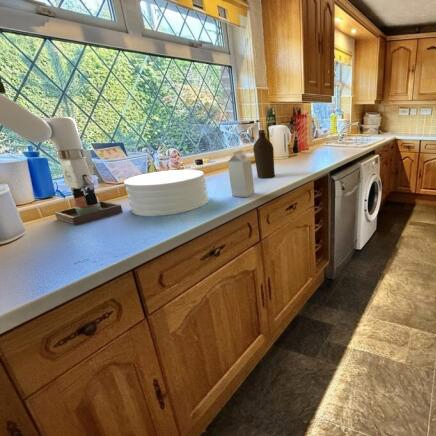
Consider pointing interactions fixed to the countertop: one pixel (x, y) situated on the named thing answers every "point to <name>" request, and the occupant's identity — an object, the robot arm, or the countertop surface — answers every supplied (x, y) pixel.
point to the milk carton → (241, 175)
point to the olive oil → (264, 156)
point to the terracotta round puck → (82, 202)
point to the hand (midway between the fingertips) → (86, 202)
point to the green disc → (88, 209)
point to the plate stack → (166, 192)
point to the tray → (75, 219)
